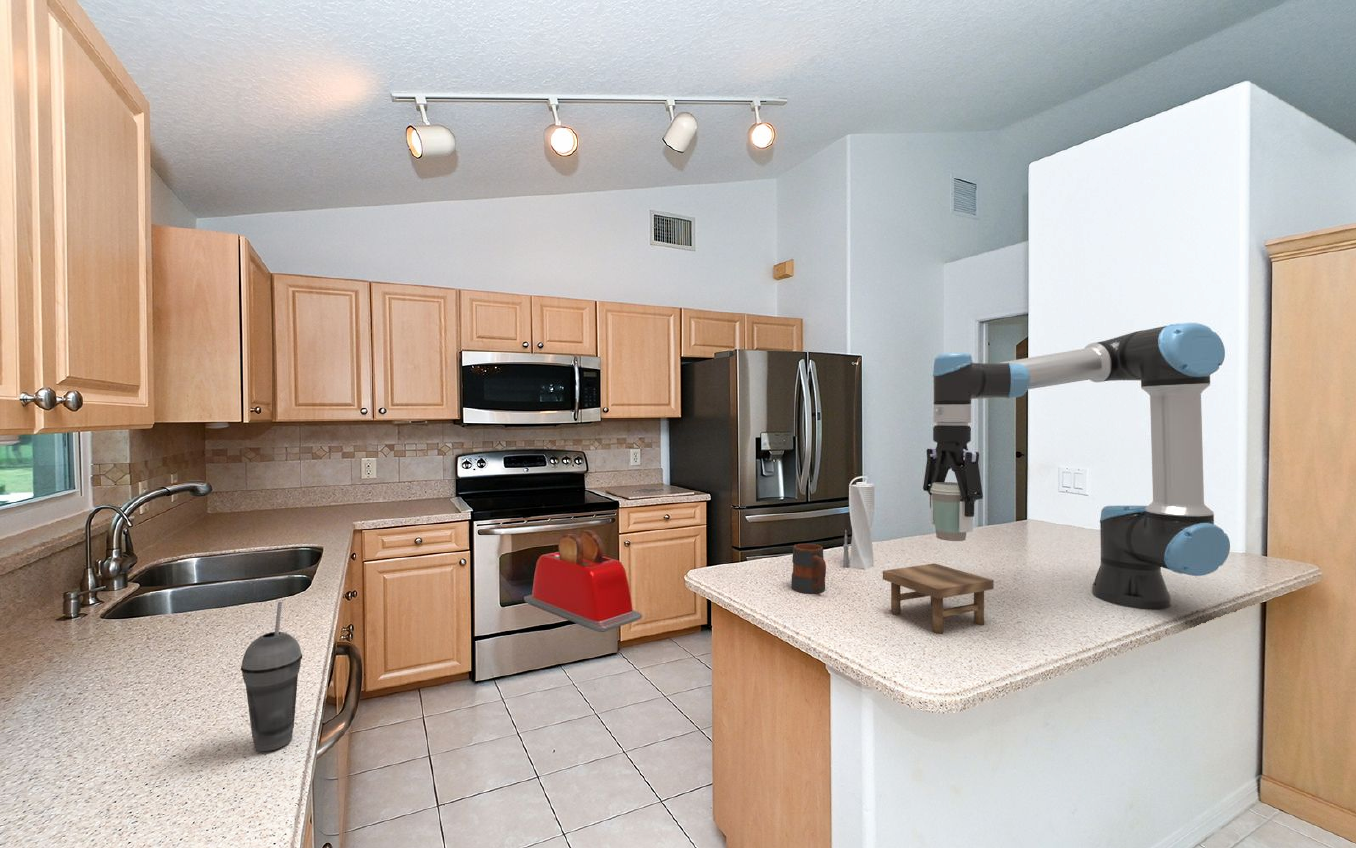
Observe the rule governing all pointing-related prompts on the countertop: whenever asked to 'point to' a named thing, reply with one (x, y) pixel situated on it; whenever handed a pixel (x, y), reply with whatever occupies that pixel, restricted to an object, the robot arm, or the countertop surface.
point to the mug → (808, 569)
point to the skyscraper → (860, 525)
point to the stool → (938, 590)
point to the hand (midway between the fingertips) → (950, 527)
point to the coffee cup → (947, 511)
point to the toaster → (583, 584)
